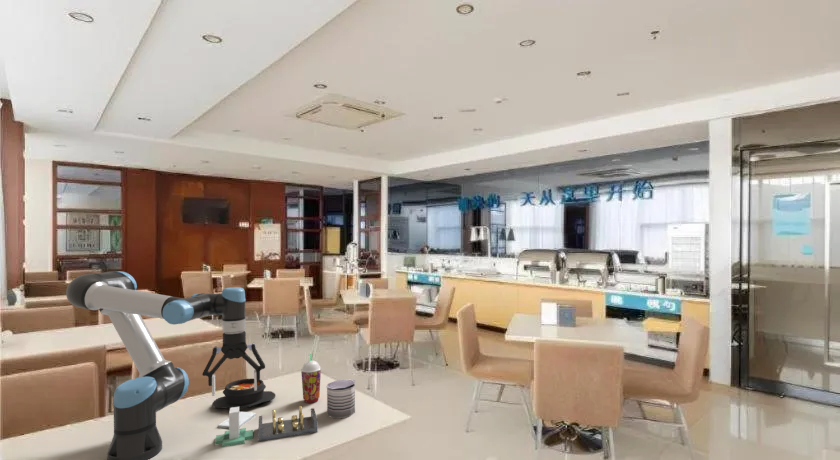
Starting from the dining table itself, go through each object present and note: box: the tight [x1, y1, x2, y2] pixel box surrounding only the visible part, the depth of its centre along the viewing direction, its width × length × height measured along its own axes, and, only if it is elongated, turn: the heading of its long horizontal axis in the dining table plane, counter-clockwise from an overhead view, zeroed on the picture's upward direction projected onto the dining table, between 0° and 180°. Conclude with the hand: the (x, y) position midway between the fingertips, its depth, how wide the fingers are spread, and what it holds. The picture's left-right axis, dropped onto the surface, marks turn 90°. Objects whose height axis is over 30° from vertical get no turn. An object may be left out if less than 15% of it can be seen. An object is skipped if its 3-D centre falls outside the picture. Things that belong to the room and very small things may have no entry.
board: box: [214, 407, 254, 448], centre depth 152 cm, size 12×10×10 cm
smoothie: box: [300, 353, 322, 404], centre depth 186 cm, size 8×8×20 cm
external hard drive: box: [217, 411, 257, 429], centre depth 166 cm, size 2×8×12 cm
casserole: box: [211, 378, 276, 410], centre depth 184 cm, size 25×19×8 cm
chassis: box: [258, 405, 318, 442], centre depth 158 cm, size 20×11×6 cm, turn 110°
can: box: [326, 378, 356, 419], centre depth 174 cm, size 11×11×12 cm
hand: (234, 392), depth 152 cm, fingers open, 13 cm apart
